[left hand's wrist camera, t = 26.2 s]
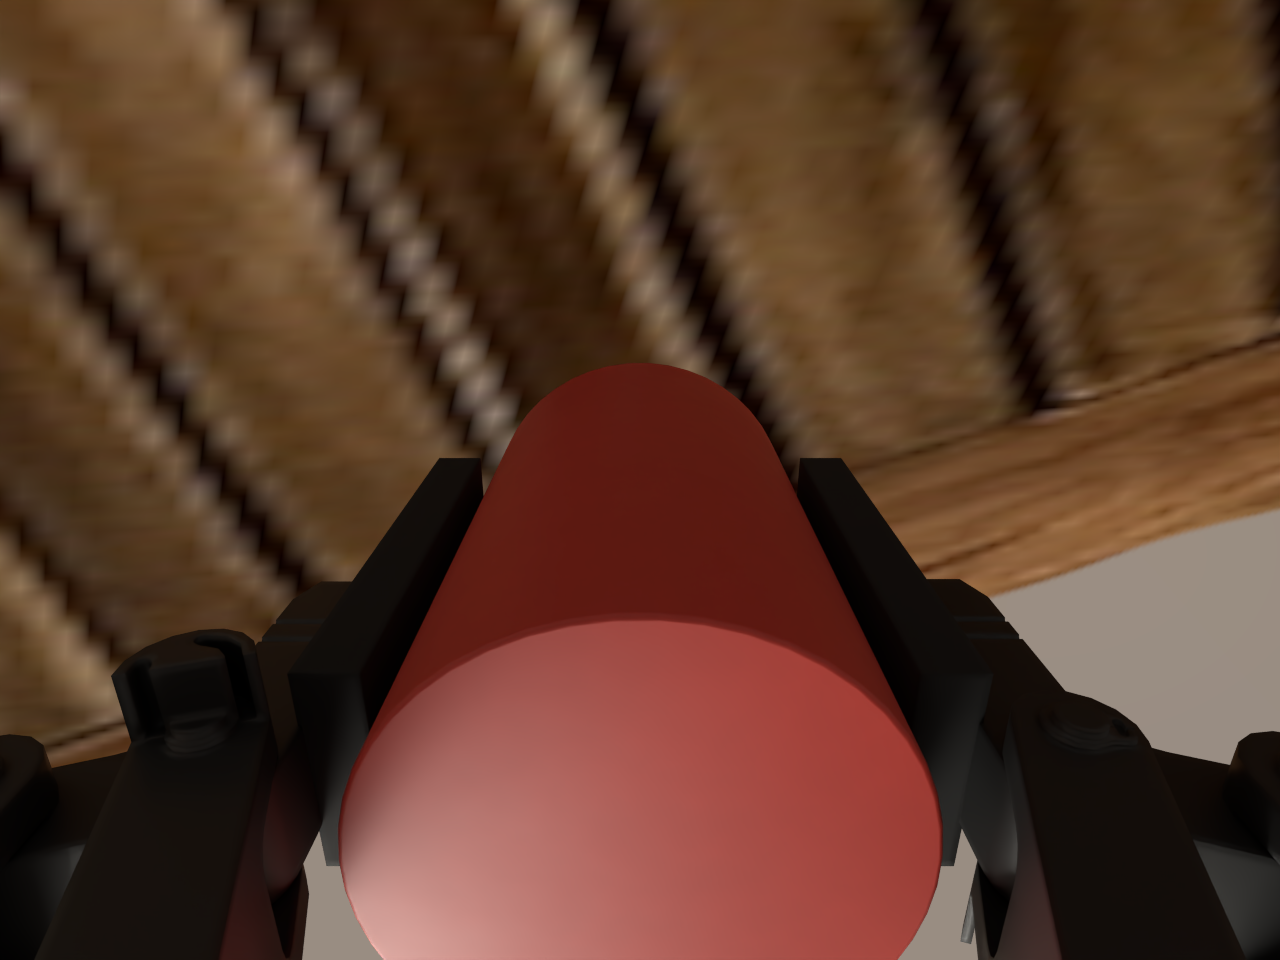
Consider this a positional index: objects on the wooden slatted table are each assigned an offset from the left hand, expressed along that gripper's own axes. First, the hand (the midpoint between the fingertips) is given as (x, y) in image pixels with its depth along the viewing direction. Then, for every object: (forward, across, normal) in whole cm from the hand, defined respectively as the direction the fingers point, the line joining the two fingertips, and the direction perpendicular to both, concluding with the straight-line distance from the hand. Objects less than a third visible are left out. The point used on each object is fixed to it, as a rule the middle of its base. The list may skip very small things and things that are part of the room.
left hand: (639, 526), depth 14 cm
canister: (+2, 0, 0) cm, 2 cm away
